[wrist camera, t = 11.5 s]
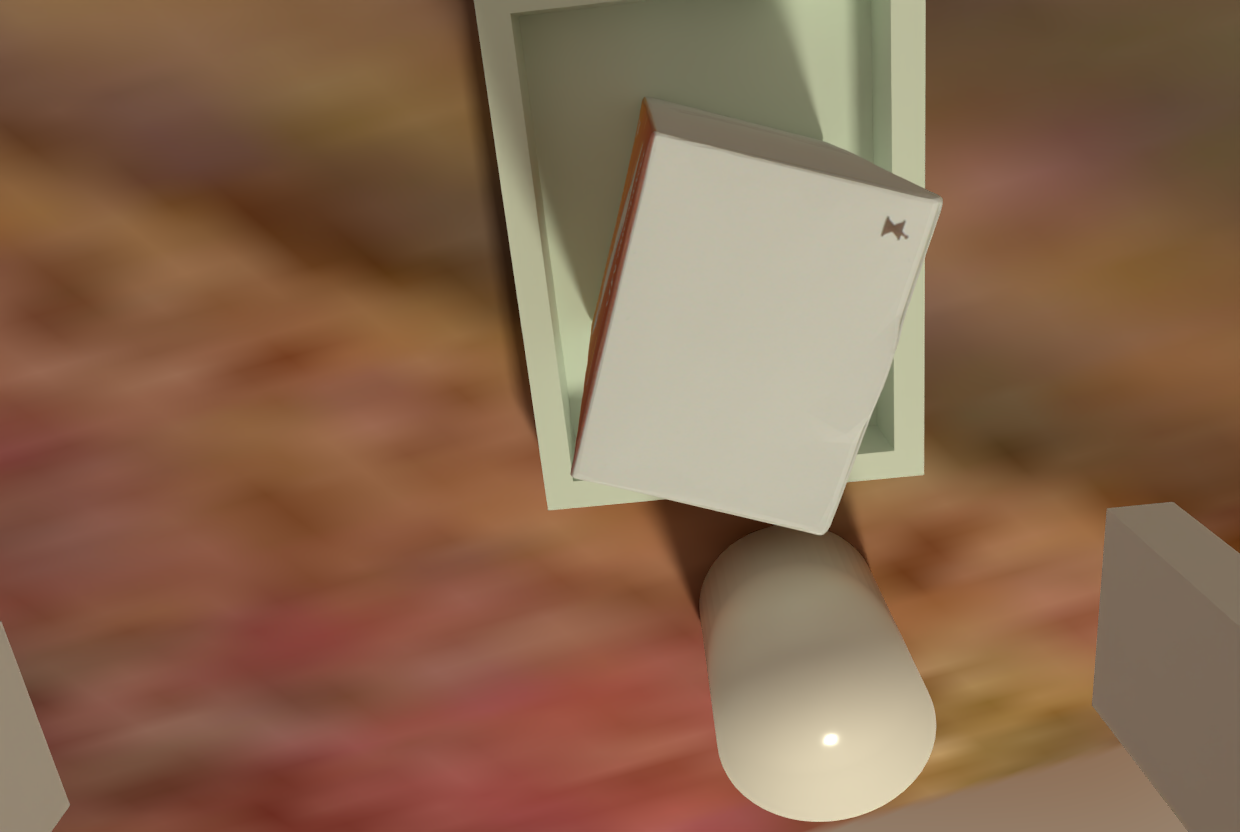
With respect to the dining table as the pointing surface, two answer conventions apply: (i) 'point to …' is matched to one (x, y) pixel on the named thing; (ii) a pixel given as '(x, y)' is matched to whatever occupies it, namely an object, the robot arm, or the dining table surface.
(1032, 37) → the dining table surface
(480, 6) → the tray
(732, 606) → the cream capsule cylinder
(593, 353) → the small box
